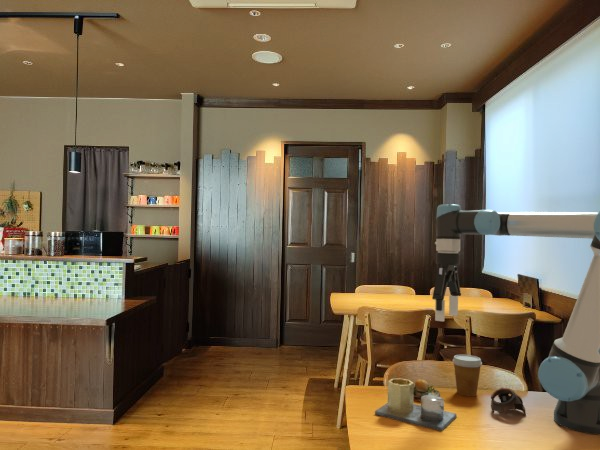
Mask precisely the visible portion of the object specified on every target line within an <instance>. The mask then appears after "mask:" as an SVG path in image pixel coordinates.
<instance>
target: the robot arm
mask: <svg viewBox="0 0 600 450" xmlns="http://www.w3.org/2000/svg"><path fill="white" fill-rule="evenodd" d="M435 220H436V223H435V224H436V226H435V227H436V235H435V236H436V237H435V238H436V239H435V240H436V241H434V245H435V251H436V253H435V264H437V265H441V266H440V267H437V268H436V277H435V282H434V286H433V287H434V288H433V292H432V297H431V298H432V300H434V301H435V304H434V306H435V309H434V310H435V311H434V313H435V315H434V317H435V318H434V321H435V322H436V321H437V322H445V321H446V320H445V318H446V317H445V316H446V315H445V313H446V309H445V306H446V305H445V304H446V300H445V295H446V292H447V289H449V293H450V294H449V297H448V298H449V299H448V301H449V303H448V308H449V309H448V316H453V317H458V316H459V297H461V295H462V293H461V287H460V286H461V285H460V281H459V280H460V278H459V267H458V265H461V254H460V253H459V252H460V251H461V236H462V235H483V236H507V237H508V236H510V237H511V236H512V237H513V236H517V237H536V238H537V237H538V238H540V237H541V238H542V237H544V238H564V239H565V238H566V239H567V238H569V239H572V238H573V239H590V240H591V239H592V240H591V243H590V249H591V250H592V252H593V257H592V260H591V261H590V264H589V267H588V270H587V272H586V275H585V278H584V280H583V283H582V285H581V288H580V291H579V294H578V296H577V299H576V301H575V304H574V306H573V310H572V312H571V315H570V317H569V320H568V322H567V326H566V328H565V330H564V332H563V334H562V337H560V338H557V339H555V340H554V342H553V343H552V346H551V349H550V351H549V354H548V357H546V358H545V359H544V360H543V361H542V362H541V363H540V365H539V367H538V372H537V373H538V375H537V376H538V380H539V383H540V384H541V386H542V388H543V389H544V390H545V392H546V393H548V395H550V396H551V397H553V398H554V399H557V402H556V405H555V408H554V411H553V420H554V421H555V423H557V424H558V425H559V426H562V427H563V428H566V429H569V430H572V431H576V432H580V433H583V434H585V433H586V434H592V435H600V211H598V212H597V211H595V212H594V211H593V212H591V211H584V212H582V211H581V212H580V211H577V212H576V211H574V212H569V211H562V212H561V211H559V212H558V211H556V212H554V211H552V212H551V211H550V212H548V211H544V212H543V211H541V212H540V211H539V212H537V211H536V212H535V211H530V212H529V211H524V212H523V211H520V212H519V211H517V212H513V211H512V212H510V211H509V212H508V211H500V212H499V211H496V210H493V209H479V210H478V209H475V210H462V208H461V205H460V204H454V203H452V204H451V203H450V204H439V205H438V206H437V208H436V216H435ZM447 287H448V288H447Z"/></svg>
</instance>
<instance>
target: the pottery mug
mask: <svg viewBox="0 0 600 450" xmlns="http://www.w3.org/2000/svg"><path fill="white" fill-rule="evenodd" d="M496 397H498V399H499V402H498V401H496V400H495V398H496ZM490 399H491V401H490V409H491V412H492V413H494V412H495V411H496V412H502V413H503V412H507V411H510V410H513V411H517V410H518V411H521V412H522V413H523V415H524V416H527V413H526V408H525V405H524V401H523V399H522V397H521V396H520V395H519V394H518V393H516V392H515V391H514V390H513V389H512V388H508V387H500V388H498V389H496V390H495V391H493V392H492V394H491V395H490Z"/></svg>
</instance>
